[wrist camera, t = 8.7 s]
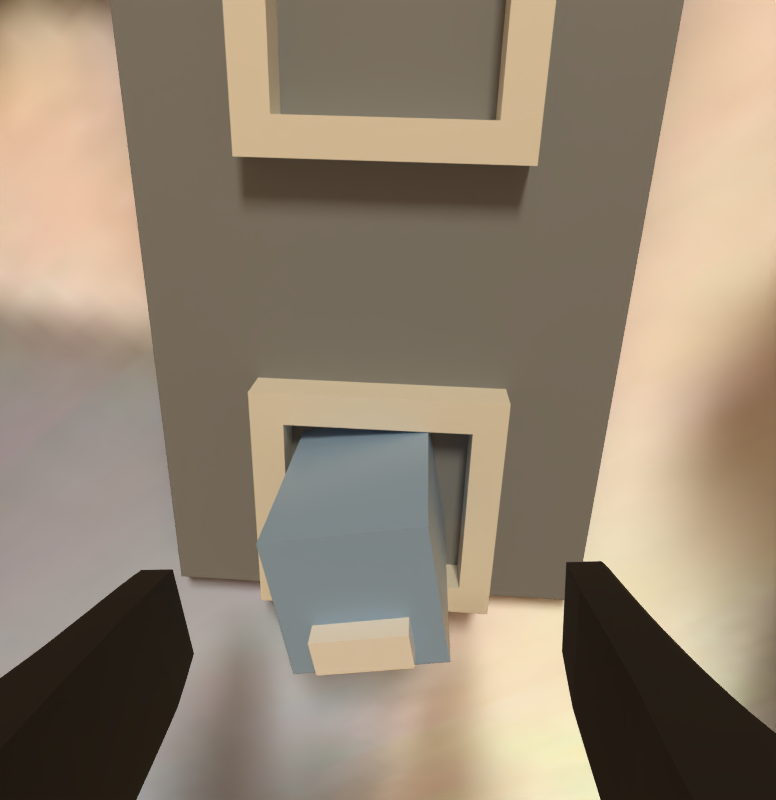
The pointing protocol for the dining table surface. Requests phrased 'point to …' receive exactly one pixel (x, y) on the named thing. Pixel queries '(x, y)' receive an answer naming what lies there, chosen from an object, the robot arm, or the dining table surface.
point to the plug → (359, 553)
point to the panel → (393, 252)
